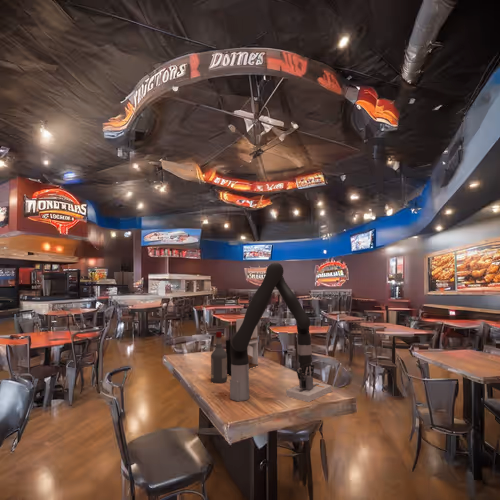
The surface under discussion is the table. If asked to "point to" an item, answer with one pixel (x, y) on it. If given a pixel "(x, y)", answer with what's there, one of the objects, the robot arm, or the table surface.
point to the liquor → (218, 362)
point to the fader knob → (307, 382)
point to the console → (309, 392)
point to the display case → (251, 345)
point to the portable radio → (228, 356)
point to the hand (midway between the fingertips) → (306, 386)
